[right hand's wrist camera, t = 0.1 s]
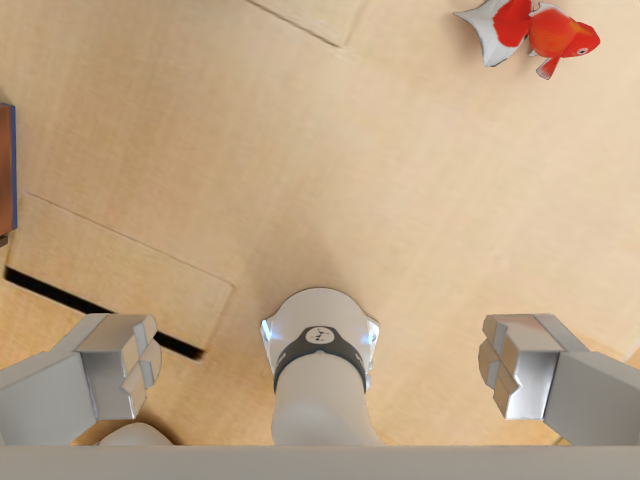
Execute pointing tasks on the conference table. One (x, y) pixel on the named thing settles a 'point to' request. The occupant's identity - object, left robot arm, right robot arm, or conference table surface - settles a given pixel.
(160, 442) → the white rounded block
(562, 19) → the fish
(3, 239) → the drawer
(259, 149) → the conference table surface
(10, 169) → the cabinet
